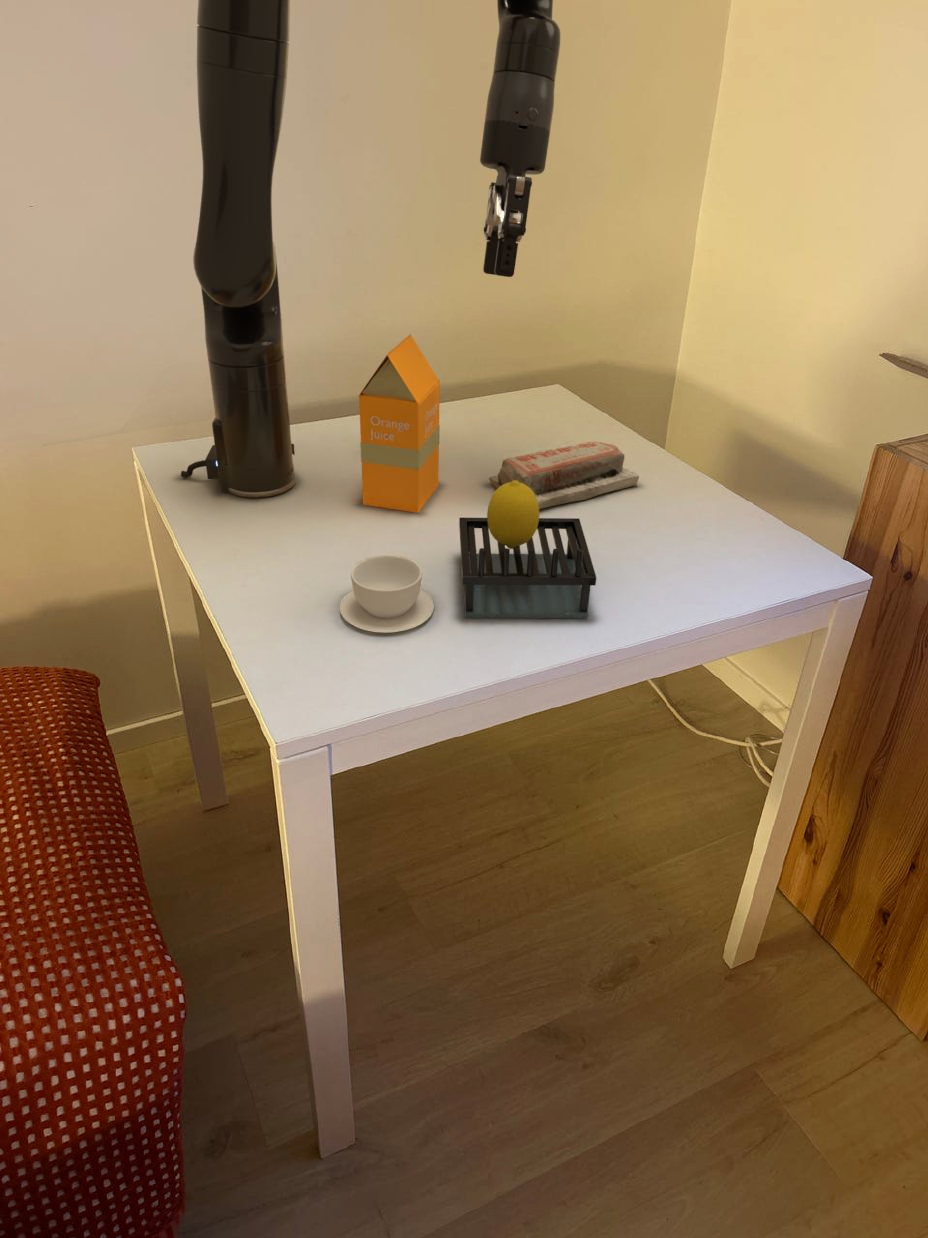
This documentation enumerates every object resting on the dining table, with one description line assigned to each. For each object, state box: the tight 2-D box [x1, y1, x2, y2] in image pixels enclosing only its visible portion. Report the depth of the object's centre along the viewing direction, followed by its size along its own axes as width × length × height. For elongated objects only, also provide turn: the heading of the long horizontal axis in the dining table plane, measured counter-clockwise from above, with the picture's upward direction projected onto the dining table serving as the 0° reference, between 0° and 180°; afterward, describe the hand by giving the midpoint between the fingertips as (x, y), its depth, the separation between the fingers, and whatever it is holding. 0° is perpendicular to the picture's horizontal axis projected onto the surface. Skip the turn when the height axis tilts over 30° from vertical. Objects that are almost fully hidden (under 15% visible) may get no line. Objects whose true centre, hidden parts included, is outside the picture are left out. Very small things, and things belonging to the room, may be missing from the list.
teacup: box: [339, 554, 435, 633], centre depth 98 cm, size 10×10×5 cm
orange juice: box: [358, 333, 441, 514], centre depth 117 cm, size 8×9×20 cm
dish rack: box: [458, 517, 597, 619], centre depth 101 cm, size 14×13×8 cm
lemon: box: [486, 480, 540, 550], centre depth 99 cm, size 6×6×8 cm
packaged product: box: [488, 441, 640, 510], centre depth 124 cm, size 18×5×10 cm
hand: (497, 275), depth 111 cm, fingers open, 8 cm apart
